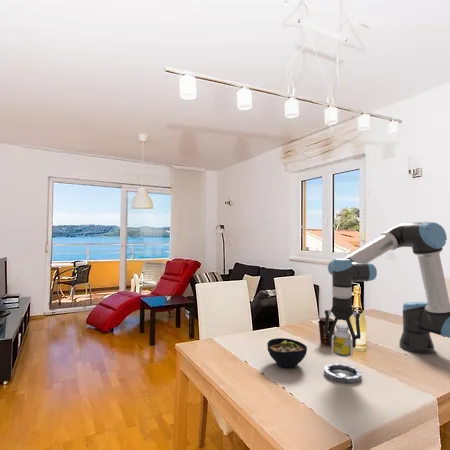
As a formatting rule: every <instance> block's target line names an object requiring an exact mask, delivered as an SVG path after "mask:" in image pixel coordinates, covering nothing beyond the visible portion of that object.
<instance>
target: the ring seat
mask: <svg viewBox="0 0 450 450" xmlns="http://www.w3.org/2000/svg"><path fill="white" fill-rule="evenodd" d="M323 375H324V376H325V377H326V378H327V379H328V380H330V381H333V382H336V383H338V384H339V383H340V384H345V385H346V384H347V385H352V384H358V383H360V382H361V381H362V371H361V370H360V369H358V368H357V367H354V366H352V365H349V364H345V363H330V364H327V365H325V366H324V368H323Z"/></svg>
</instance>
